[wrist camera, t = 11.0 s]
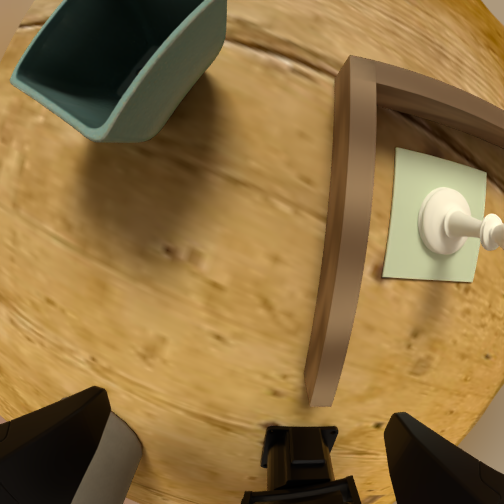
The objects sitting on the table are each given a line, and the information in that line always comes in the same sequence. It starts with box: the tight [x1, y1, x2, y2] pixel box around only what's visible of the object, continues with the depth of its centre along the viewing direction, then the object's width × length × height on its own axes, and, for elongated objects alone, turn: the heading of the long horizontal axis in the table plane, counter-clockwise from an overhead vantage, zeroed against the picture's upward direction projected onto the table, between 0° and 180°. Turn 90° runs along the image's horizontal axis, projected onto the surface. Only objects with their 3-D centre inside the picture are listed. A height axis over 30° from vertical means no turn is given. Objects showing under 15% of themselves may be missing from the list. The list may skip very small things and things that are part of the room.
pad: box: [382, 147, 487, 282], centre depth 18 cm, size 9×9×1 cm
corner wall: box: [304, 55, 504, 407], centre depth 16 cm, size 22×22×4 cm
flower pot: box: [10, 0, 227, 143], centre depth 13 cm, size 9×9×9 cm
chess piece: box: [418, 187, 504, 255], centre depth 13 cm, size 5×5×10 cm
